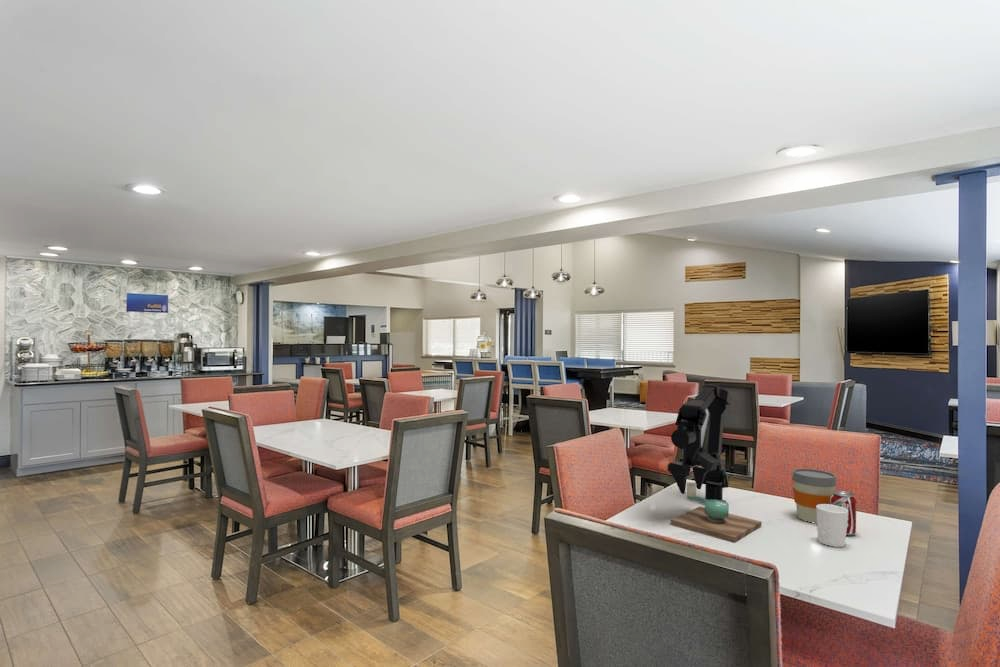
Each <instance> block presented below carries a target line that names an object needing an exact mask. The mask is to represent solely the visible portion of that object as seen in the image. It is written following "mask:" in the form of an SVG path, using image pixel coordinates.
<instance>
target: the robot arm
mask: <svg viewBox="0 0 1000 667" xmlns="http://www.w3.org/2000/svg"><path fill="white" fill-rule="evenodd" d="M694 397H695V398H694V399H692V400H689V401H686V402H684V403H683V404H682V405H681V407H679V410H678V413H677V418H676V420H675V425H674V426H677V429H676V430H674V431H672V433H671V435H670V440H671V443H672V444H673V446H675V447H676V448H679V450H681V451H682V453H681V454H682V457H680V458H679V461H676V460H674V461H672V462H669V463H668V464H667V465H666V466H667V467H666V471H667V472H668V473H669V474H671V475H672V477H673V479H674V481H675V483H676V485H677V487H678V491H679V492H680V494H682V495H685V494H686V490H687V479H688V478H689V477H690V476H691V474H693V478H694V483H696V484H697V486H696V490H697V489H698V490H701V489H702V486H703V485H705V486H704V488H705V491H704V492H705V494H704V495H705V496H704V499H707V500H720V501H724V502H727V501H726V499H725V500H724V499H723V491H724V490H723V489H726V488H729V484H730V482H729V477H728V474H727V471H726V466H725V463H724V461H723V460H722V447H723V434H724V433H723V432H724V421H725V420H724V419H725V417H726V415H727V413H729V411H730V408H731V404H732V402H733V397H732V395H731V393H730V392H729V391H727V390H725V389H724V388H722V387H721V386H720V385H717V384H709V383H707V384H703V386H702V390H700V391H699V392H698V394H697V395H696V396H694ZM707 411H708V413H709V425H708V426H709V428H708V434H707V435H708V437H707V446H706V447H707V450H706V452H705V446H702V429H703V426H704V424H705V421H706V419H707V416H708V415H707ZM691 469H692V472H693V473H690V472H691Z"/></svg>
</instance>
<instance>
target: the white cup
mask: <svg viewBox="0 0 1000 667" xmlns="http://www.w3.org/2000/svg"><path fill="white" fill-rule="evenodd" d="M816 512H817V524H816V530H817V542H819V543H821V544H822V545H824V544H825V546H828V545H829V547H832V546H833V548H843V547H845V545H846V537H847V536H846V532H847V521H848V510H847V509H845V508H843V507H840V506H836V505H829V504H819V505H817V506H816Z"/></svg>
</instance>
